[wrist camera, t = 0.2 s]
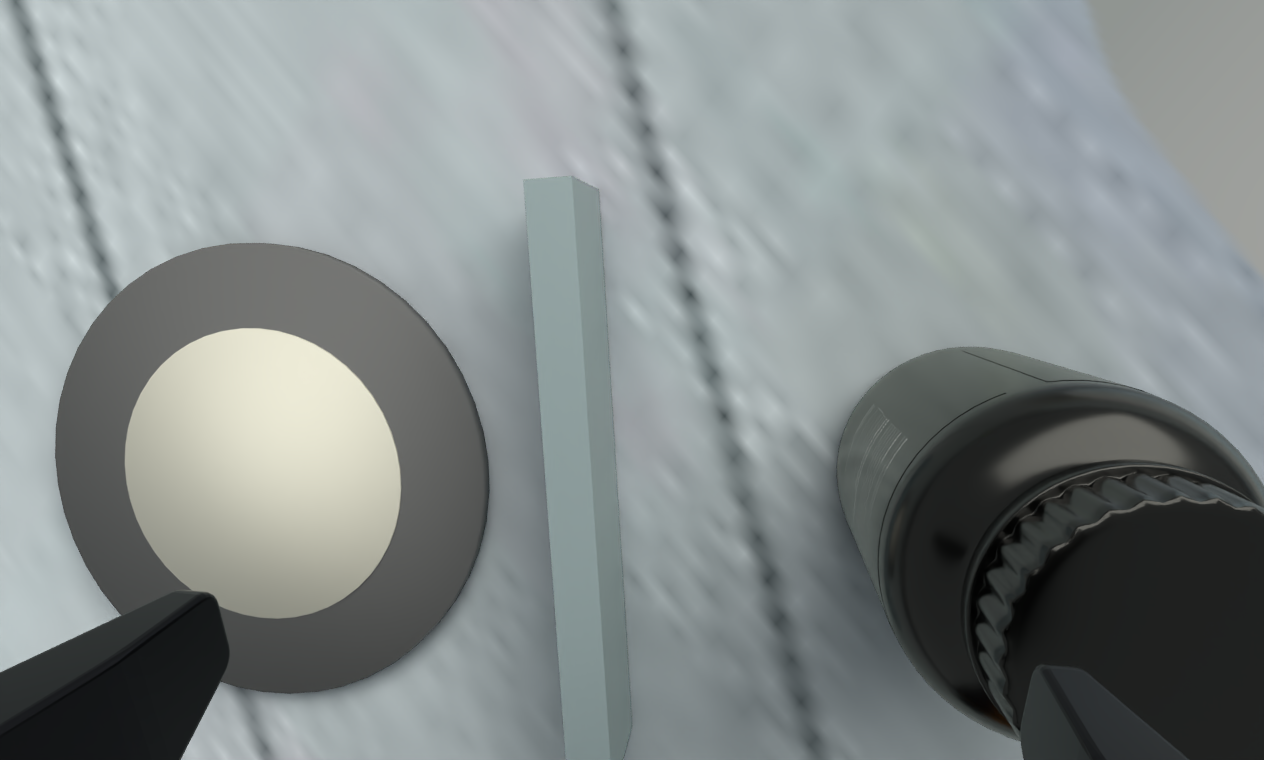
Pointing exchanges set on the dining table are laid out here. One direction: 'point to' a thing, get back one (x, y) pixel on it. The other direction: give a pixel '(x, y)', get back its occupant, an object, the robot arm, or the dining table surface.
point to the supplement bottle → (1061, 543)
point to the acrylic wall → (579, 464)
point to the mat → (275, 460)
